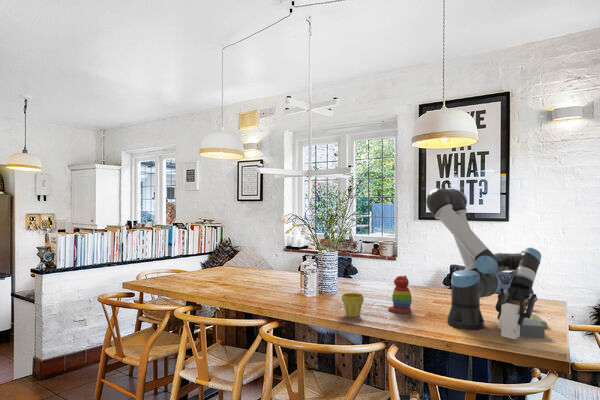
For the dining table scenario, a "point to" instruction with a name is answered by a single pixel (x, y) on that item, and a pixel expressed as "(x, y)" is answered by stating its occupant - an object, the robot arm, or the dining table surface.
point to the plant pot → (352, 303)
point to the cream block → (509, 320)
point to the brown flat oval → (515, 300)
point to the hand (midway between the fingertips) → (506, 329)
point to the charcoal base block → (532, 329)
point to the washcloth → (538, 320)
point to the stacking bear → (401, 296)
